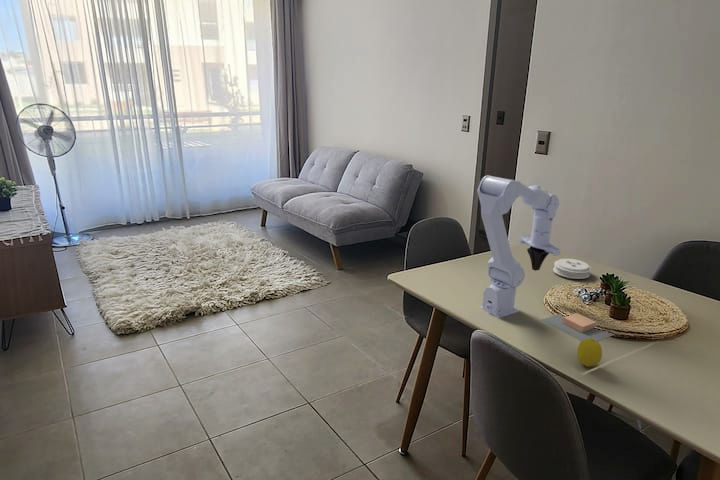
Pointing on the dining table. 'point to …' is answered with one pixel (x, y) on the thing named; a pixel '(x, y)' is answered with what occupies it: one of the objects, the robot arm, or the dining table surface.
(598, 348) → the lemon
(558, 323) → the mat
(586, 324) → the tile
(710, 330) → the dining table surface
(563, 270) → the lid
